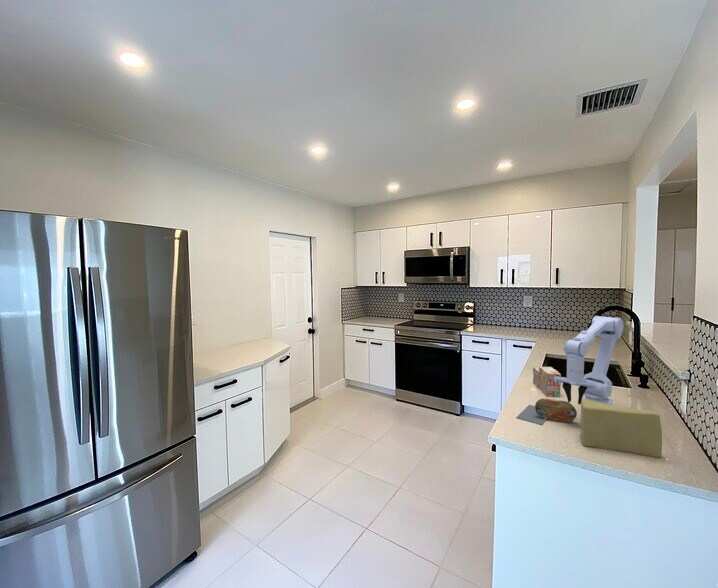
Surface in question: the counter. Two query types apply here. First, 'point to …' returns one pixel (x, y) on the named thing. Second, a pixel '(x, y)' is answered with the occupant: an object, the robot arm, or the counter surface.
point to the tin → (555, 410)
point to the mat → (531, 415)
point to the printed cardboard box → (547, 381)
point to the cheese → (620, 428)
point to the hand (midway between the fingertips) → (574, 402)
